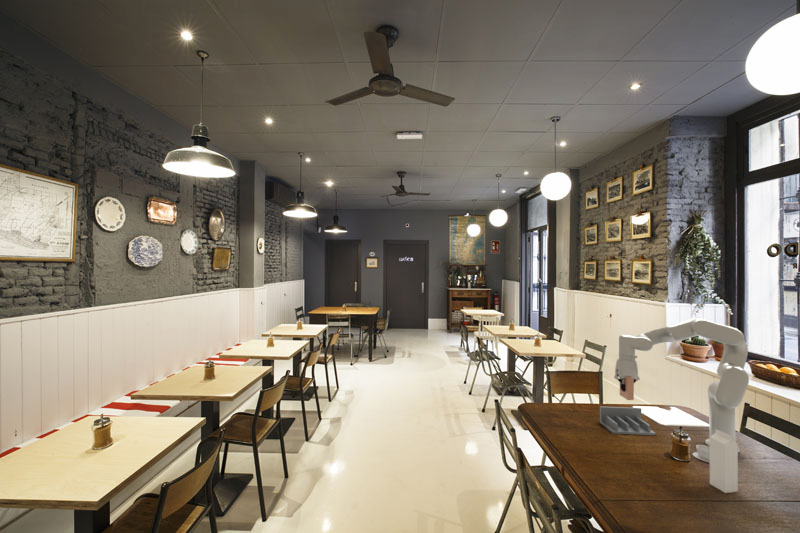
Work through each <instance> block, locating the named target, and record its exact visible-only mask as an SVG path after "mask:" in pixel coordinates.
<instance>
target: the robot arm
mask: <svg viewBox="0 0 800 533" xmlns="http://www.w3.org/2000/svg"><path fill="white" fill-rule="evenodd" d="M698 336H699V337H702V338H705V339H708V340H709V341H710V340H711V341H713V342H717V343H721V344H722V345H723V351H722V356H721V359H720V361H719V364H718V366H717V369H716V373H717V376H719V378H720V380H719V381H714V382H712V383H710V385H709V386H708V387H707V396H708V404H709V405H708V406H709V407H708V408H709V413H708V414H709V415H708V417H709V418H708V419H709V423H708V424H709V427H708V428H709V429H708V430H709V431H708V432H709V434H708V435H709V438H707V439H705V444H706V446H709V447H710V437H711V436H712V435H713V434H714V433H715V430H716V429H717V430H719V431H722V432H724V433H726V434H729V435H731V440H733V441H735V442H736V408H737V407H739V406H741V404H742V402H743V399H744V396H745V395H746V391H747V389H748V386H749V383H750V376H749V374H748V372H747V371H746V370H745V366H746V362H747V358H748V354H749V351H748V350H749V349H748V345H747V342H746V340H745V334H744V333H743V332H742V331H741V330H739V329H737V328H736V327H733V326H731V325H724V324H720V323H716V322H714V321H711V320H708V319H704V318H703V317H693V318H690V319H687V320H684V321H680V322H678V323H675V324H672V325H668V326H664V327H661V328H660V327H659V328H657V329H652V330H650V331H647V332H644V333H641V334H639V335H636V336H633V335H631V334H630V335H629V334H621V335H620V334H619V337H618V358H617V359H616V362H615V370H614V374H615V375H614V376H613V378H614V379H615V380H616V381H618V383H619V384H620V383H621V390H622V391H624V392H625V384H624V383H625V379H626V377H633V378H634V384H635V383H636V382H637V381H639V380H640V379H641V378H640V377H639V371H638V363H637V360H636V359H638V355H636V350H637V351H642V352H649V351H651V350H652V349H653V347H654V346H655V345H658V344H662V343H677V342H682V341H684V340H688V339H690V338H694V337H698ZM740 451H742V448H741V447H739V446H738V453H740Z"/></svg>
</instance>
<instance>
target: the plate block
mask: <svg viewBox="0 0 800 533" xmlns="http://www.w3.org/2000/svg"><path fill="white" fill-rule="evenodd" d="M624 384H625V392H624V391H622V390H621V383H620V382H619V396H620V397H622V398H624V399H625V400H627V401H634V400H635V398H634V396H635V394H634V392H635V386H634V385H635V383H634V378H633V377H626V379H625V383H624Z"/></svg>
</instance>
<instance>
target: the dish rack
mask: <svg viewBox="0 0 800 533" xmlns="http://www.w3.org/2000/svg"><path fill="white" fill-rule="evenodd" d="M599 423H600V424H601V425H602V426H603V427H605V428H606V429H607V431H609V432H611V433H612V434H616V435H634V436H635V435H637V436H640V435H641V436H657V433H656V432H655V431H654V430H652V429H651V425H650V424H649V423H648V422H646V421H644V419H642V413H641V408H633V407H626V406H601V405H600V406H599Z"/></svg>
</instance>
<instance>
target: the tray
mask: <svg viewBox="0 0 800 533" xmlns="http://www.w3.org/2000/svg"><path fill="white" fill-rule="evenodd" d="M632 408H641V415H643V416H645V417H647V418H648V419H650V420H652V421H654V422H655V423H657V424H658V425H660V426H671V427H678V426H679V427H701V428H702V427H703V428H704V427H706V428H707V427H708V428H709V423H708V422H705V421H703V420H701V419H700V418H697V417H695V416H694V415H692V414H689V413H688V412H685V411H683V410H681V409H679V408H678V407H675V406H670V407H669V408H670V409H666V408H660V407H658V406H649V405H647V406H646V405H645V406H643V405H633V406H632Z"/></svg>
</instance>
